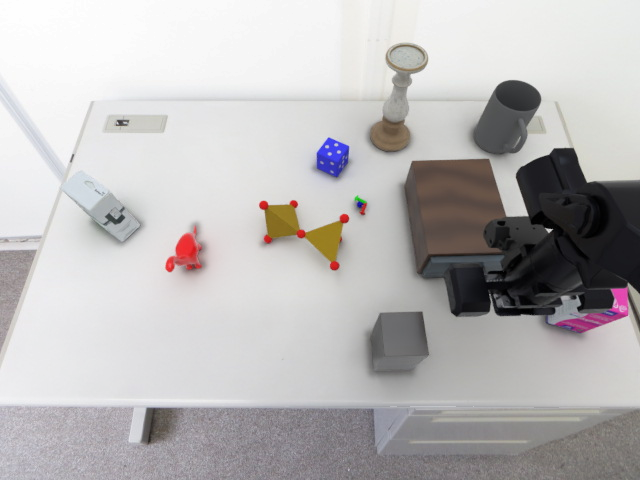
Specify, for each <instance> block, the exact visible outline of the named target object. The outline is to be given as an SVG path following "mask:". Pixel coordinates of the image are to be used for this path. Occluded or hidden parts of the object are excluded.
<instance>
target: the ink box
mask: <svg viewBox="0 0 640 480" xmlns="http://www.w3.org/2000/svg"><path fill="white" fill-rule="evenodd" d="M58 189H60V190H61V192H63V193H64V194H66V196H67V197H68V198H69V199H70V200H72V201H73V202H74V203H75V204H76V205H77V206H78V207H79V208H80V209H81V210H82V211H83V212H84V213H85V214H87V215H88V216H89V217H90V219H92V220H93V221H94V222H95V223H96V224H98V225H99V226H100V227H101V228H103V229H104V230H105V231H107V232H108V233H109V234H111V235H112V236H113V237H114V238H116V239H117V240H119V242H121V243H123V242H125V241H126V240H127V239H128V238H129V237H130V236H131V235H132V234H133V233H135V231H137V230H138V228H139V229H140V227H141V224H140V222H138V220H137V219H136V218H135V217H134V216H133V215H132V214H131V213H130V212H129V210H128V209H127V208H126V207H125V205H123V204H122V202H120V200H119V199H118V198H117V197H116V196H115V195H114V194H113V192H112V191H111V190H109V188H107V187H106V186H105V185H103V184H102V183H100V182H99V181H97V180H96V179H95V178H93V177H92V176H90V175H89V174H88V173H87V172H85V171H84V170H83V169H80V170H78V171H77V172H76V173H74V174H73V175H72V176H71V177H70V178H68V180H66V181H64V183H63V184H61V185H60V186H59V188H58Z"/></svg>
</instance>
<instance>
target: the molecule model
mask: <svg viewBox="0 0 640 480" xmlns="http://www.w3.org/2000/svg"><path fill="white" fill-rule="evenodd" d="M356 201H357V202H356ZM354 202H356V205H357V207H358V208H359V209H360V208H361V210H360V211H358V213H359V214H360V215H362V216H364V215H366V213H365V211H366V208H367V205H368V202H367V201H366V200H364V199H363V198H362V197H359V195H358V194H357V195H356V196H354ZM258 207H259V209H260V210H261V211H264V217H265V227H266V235H264V237H263V242H264V243H265V244H271V243H272V242H273V239H277V238H283V237H284V238H285V237H290V236H296V237H297V238H298V239H301V240H302V239H306V240H307V241H308V242H309V243H310V244H311V245H312V246H313V247H314V248H315V249H316V250H317V251H318V252H320V253H321V254H322V255H323V257H325V258H326V259H327V260H328V262H330V263H329V269H330V270H331V271H334V272H335V271H337V270H340V264H339V262H338V261H337V255H338V251H339V247H340V243H341V242H342V241H343V238H342V232H343V228H344V224H348V223H349V222H350V216H349V215H348V213H342V214H341V215H340V216H339V220H337V221H334V222H331V223H328V224H326V225H323V226H320V227H317V228H314V229H311V230H308V231H305V229H303V228H302V229H301V227H300V224H299V220H298V215H297V212H296V209H297V208H298V207H299V203H298V201H297V200H295V199H291V200H290V202H289V204H269V203H268V201H267V200H260V202H259V203H258Z"/></svg>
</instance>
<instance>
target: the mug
mask: <svg viewBox="0 0 640 480" xmlns="http://www.w3.org/2000/svg"><path fill="white" fill-rule="evenodd" d="M541 104H542V94H541V93H540V92H539V90H538V89H537V88H536V87H535V86H534V85H532V84H530V83H528V82H526V81H523V80H518V79H509V80H508V79H507V80H504V81H502V82H499V84H497V86H496V87H495V88H494V90H493V92H492V94H491V95H490V97H489V98H488V101H487V103H486V105H485V107H484V109H483V111H482V113H481V115H480V118H479V120H478V122H477V124H476V126H475V129H474V132H473V140H474V142H475V144H476V145H477V146H478V147H479V148H480V149H482V150H483V151H485V152H488V153H491V154H505V153H508V154H510V155H511V154H517V153H519V152H520V151H521V150H522V149H523V147H524V145H525V144H526V143H527V139H528V135H529V133H528V129H527V127H528V126H529V124H530V123H531V121H532V119H533V118H534V116H535V114H536V113H537V111H538V109H539V108H540V106H541Z"/></svg>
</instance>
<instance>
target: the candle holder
mask: <svg viewBox="0 0 640 480" xmlns="http://www.w3.org/2000/svg"><path fill="white" fill-rule="evenodd" d="M384 60H385V64H386V65H387V67H388V68H389V69H390V70H392V71H394V72H395V74H394V75H392V77H391V83H392V84H393V86H392V90H391V93H390V95H389V96H388V97H387V99H386V100H385V101H384V103H383V105H382V108H381V110H382V115H383V116H382V118H381V120H380V121H377V122H376V123H375V124H373V125H372V127H371V129H370V140H371V142H372V144H373V145H374V147H376V148H378V149H380V150H381V151H385V152H398V151H401V150H403V149H404V148H405V147H407V146H408V145H409V142H410V140H411V132H410V129H409V128H408V127H407V125H405V122H406V118H407V117H408V116H409V112H410V105H409V101H408V97H407V93H408V88H409V87H410V86H411V85H412V84H413V78H412V75H415V74H418V73H421V72H422V71H424V70H425V69H426V68H427V66H428V63H429V55H428V52H427V50H426V49H425V48H423V47H422V46H421V45H418V44H415V43H412V42H399V43H396V44H393V45H392V46H390V47H389V48H388V49H387V51H386V53H385V56H384Z"/></svg>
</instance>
